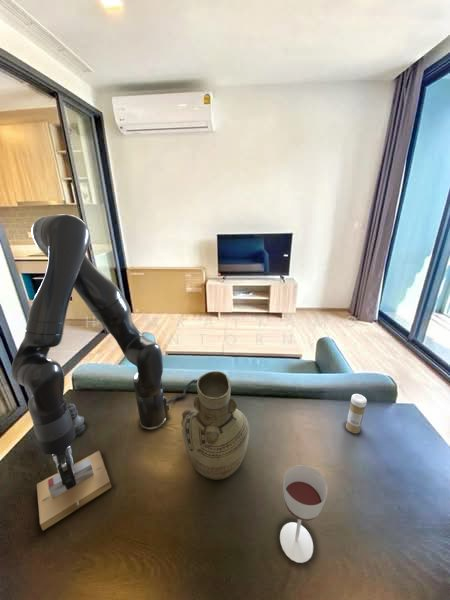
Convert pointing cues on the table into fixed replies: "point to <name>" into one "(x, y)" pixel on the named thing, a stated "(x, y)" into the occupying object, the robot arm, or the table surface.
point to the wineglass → (301, 509)
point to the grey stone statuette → (76, 419)
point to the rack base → (72, 493)
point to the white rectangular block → (81, 474)
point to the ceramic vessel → (215, 428)
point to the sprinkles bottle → (356, 413)
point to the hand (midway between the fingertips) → (68, 473)
